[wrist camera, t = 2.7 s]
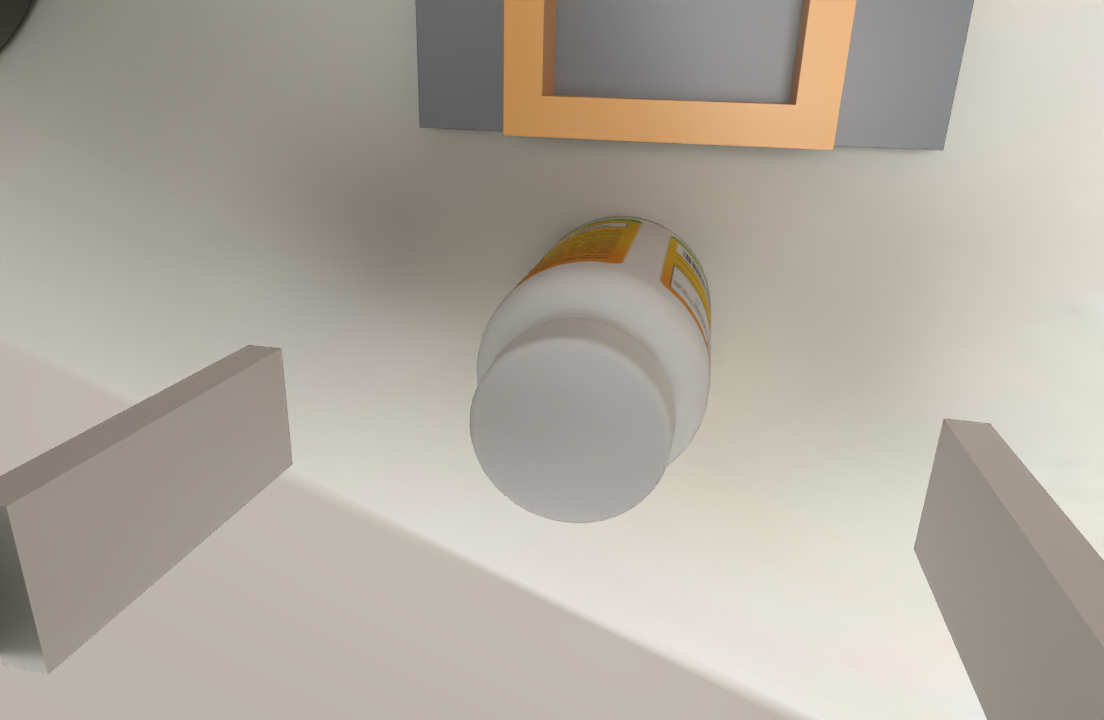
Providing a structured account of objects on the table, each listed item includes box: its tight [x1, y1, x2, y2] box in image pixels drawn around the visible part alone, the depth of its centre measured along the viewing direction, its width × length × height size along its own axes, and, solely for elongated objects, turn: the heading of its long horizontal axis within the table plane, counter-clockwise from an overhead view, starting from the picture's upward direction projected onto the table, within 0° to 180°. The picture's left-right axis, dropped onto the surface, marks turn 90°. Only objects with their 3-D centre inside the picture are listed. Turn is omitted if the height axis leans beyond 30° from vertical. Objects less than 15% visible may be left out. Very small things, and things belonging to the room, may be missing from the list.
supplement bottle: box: [470, 217, 710, 523], centre depth 19 cm, size 5×5×10 cm
